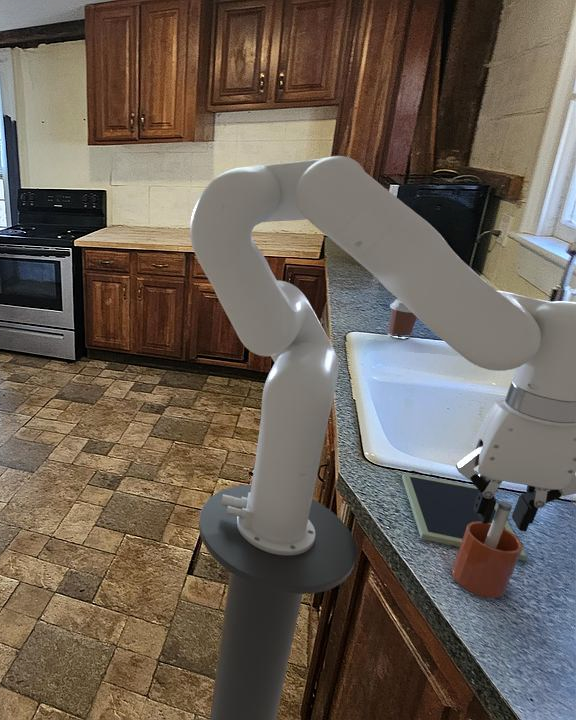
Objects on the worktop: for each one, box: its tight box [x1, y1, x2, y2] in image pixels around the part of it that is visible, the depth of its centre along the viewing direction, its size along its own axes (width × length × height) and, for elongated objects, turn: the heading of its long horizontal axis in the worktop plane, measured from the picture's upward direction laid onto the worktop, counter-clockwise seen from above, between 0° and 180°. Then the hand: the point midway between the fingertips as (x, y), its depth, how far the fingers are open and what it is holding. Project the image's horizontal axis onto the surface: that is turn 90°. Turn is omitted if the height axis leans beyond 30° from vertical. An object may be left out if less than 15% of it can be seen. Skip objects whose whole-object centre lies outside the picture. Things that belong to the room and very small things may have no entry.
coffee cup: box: [387, 298, 418, 337], centre depth 172 cm, size 9×9×12 cm
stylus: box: [484, 500, 513, 549], centre depth 74 cm, size 1×1×13 cm
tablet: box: [401, 472, 528, 562], centre depth 90 cm, size 14×18×1 cm
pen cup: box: [451, 521, 524, 599], centre depth 75 cm, size 6×6×8 cm
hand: (500, 520), depth 72 cm, fingers open, 3 cm apart
